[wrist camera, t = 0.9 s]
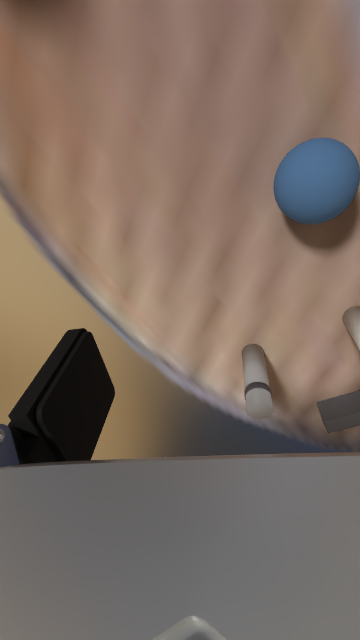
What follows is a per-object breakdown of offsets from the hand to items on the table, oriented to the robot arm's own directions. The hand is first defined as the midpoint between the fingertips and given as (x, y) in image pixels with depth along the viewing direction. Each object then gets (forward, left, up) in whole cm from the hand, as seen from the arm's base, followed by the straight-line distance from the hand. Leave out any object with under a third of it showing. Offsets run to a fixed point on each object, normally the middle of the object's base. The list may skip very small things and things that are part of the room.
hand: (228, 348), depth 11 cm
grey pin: (+4, +16, -22) cm, 28 cm away
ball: (-7, +1, -19) cm, 20 cm away
